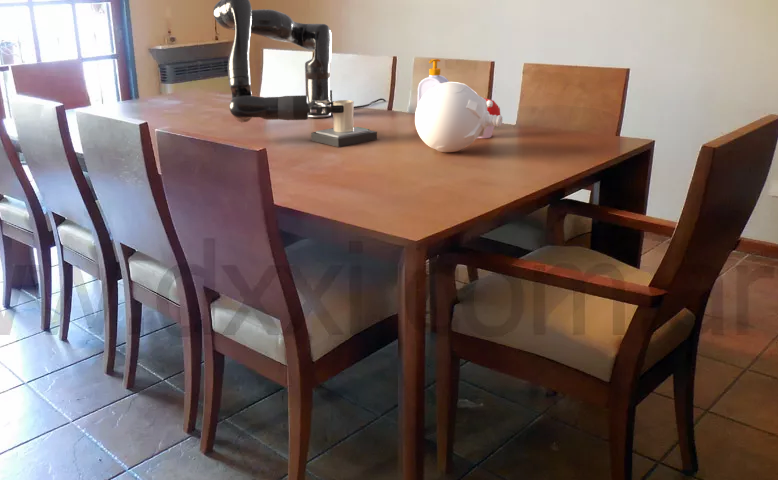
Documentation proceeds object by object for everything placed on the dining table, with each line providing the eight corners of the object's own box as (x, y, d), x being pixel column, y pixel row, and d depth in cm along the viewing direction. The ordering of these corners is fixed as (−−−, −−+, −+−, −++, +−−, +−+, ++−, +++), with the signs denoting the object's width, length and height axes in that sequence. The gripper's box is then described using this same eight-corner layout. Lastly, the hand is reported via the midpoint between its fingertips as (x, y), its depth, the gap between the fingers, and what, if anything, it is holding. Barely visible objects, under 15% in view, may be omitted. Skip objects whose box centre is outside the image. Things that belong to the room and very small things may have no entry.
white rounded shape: (429, 142, 213) (432, 76, 205) (508, 149, 200) (515, 80, 192) (402, 155, 198) (404, 84, 190) (486, 163, 185) (492, 89, 177)
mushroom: (461, 133, 224) (463, 95, 219) (494, 132, 224) (497, 94, 219) (468, 140, 214) (470, 100, 209) (503, 138, 214) (506, 99, 209)
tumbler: (345, 127, 223) (344, 99, 219) (357, 130, 218) (357, 101, 214) (329, 130, 219) (329, 101, 215) (342, 133, 214) (341, 103, 211)
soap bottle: (415, 131, 230) (417, 59, 220) (424, 127, 235) (427, 57, 225) (439, 133, 225) (442, 60, 215) (448, 129, 230) (452, 58, 221)
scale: (349, 133, 229) (349, 124, 228) (377, 139, 219) (377, 129, 218) (311, 140, 221) (311, 130, 219) (338, 147, 210) (338, 137, 209)
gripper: (290, 99, 208) (343, 97, 208) (294, 92, 221) (343, 91, 220) (291, 124, 212) (343, 122, 211) (295, 116, 225) (344, 114, 224)
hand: (343, 106), depth 216 cm, fingers open, 8 cm apart
